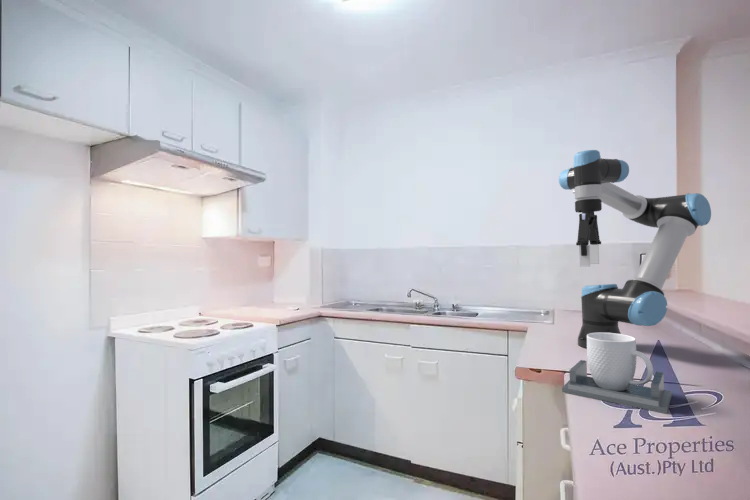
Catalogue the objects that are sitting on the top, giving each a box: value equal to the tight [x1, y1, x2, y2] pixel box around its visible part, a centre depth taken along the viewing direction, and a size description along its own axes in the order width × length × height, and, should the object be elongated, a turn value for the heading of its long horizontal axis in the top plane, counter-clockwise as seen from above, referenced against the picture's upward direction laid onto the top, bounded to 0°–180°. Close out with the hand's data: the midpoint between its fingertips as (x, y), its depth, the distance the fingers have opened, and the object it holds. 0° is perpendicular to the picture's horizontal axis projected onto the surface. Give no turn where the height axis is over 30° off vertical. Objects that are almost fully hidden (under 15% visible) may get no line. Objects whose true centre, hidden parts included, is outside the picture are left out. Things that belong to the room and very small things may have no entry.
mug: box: [586, 332, 654, 391], centre depth 100 cm, size 15×11×13 cm
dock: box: [561, 359, 672, 415], centre depth 100 cm, size 13×22×6 cm, turn 49°
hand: (589, 265), depth 126 cm, fingers open, 13 cm apart
